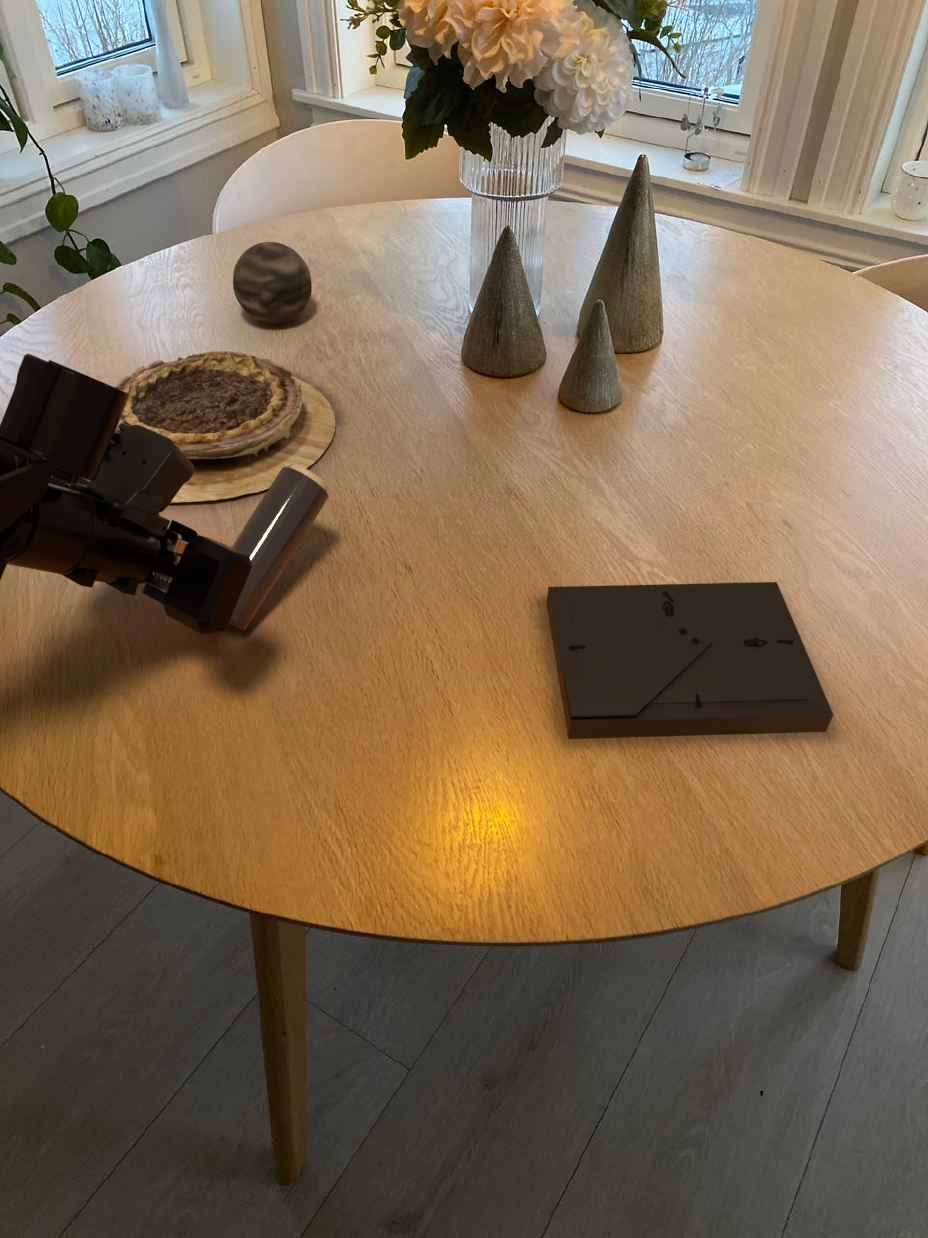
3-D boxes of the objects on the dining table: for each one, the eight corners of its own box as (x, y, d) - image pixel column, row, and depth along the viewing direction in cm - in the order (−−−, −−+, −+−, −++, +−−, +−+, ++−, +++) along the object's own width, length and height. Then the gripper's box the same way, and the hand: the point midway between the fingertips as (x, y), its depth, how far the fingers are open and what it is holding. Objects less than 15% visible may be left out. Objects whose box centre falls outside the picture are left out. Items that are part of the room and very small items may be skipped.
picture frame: (568, 738, 76) (826, 731, 77) (571, 715, 74) (836, 708, 75) (546, 603, 87) (771, 598, 88) (548, 580, 85) (778, 575, 86)
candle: (210, 606, 79) (303, 462, 82) (187, 597, 83) (276, 459, 86) (254, 634, 82) (341, 494, 85) (229, 624, 86) (314, 491, 89)
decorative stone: (310, 338, 123) (302, 262, 116) (232, 337, 123) (219, 261, 116) (319, 303, 130) (312, 229, 123) (245, 302, 130) (234, 228, 123)
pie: (244, 347, 121) (238, 309, 117) (386, 434, 107) (385, 394, 104) (35, 430, 107) (21, 390, 103) (168, 543, 93) (157, 501, 89)
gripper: (209, 464, 60) (335, 515, 74) (14, 378, 67) (163, 439, 82) (142, 628, 61) (280, 646, 75) (-43, 524, 68) (115, 559, 82)
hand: (207, 566), depth 78 cm, fingers closed
